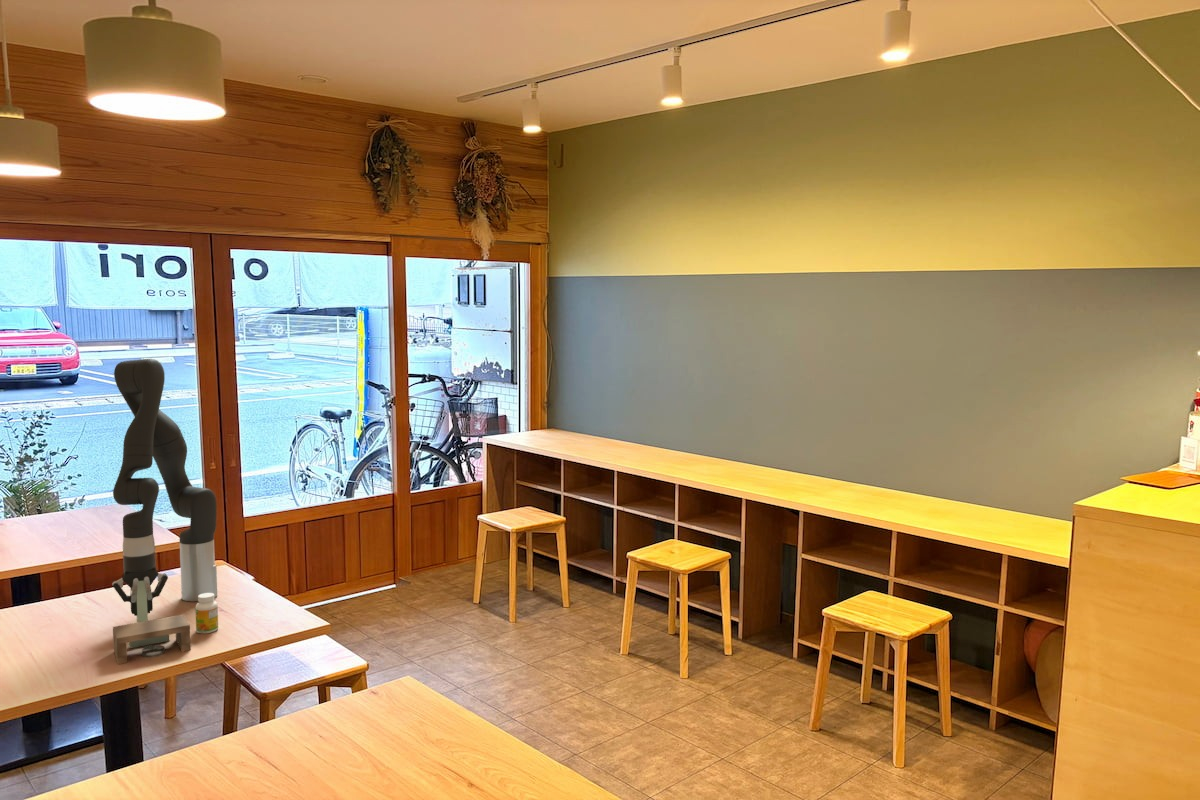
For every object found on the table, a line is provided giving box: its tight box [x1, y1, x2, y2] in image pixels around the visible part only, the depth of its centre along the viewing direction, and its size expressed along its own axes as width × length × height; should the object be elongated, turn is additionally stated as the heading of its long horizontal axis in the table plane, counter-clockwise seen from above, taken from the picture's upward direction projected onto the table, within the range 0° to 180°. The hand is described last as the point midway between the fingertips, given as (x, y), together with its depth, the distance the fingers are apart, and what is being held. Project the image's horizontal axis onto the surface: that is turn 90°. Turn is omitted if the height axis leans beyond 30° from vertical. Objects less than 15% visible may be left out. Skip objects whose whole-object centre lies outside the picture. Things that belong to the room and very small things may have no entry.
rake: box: [128, 580, 170, 649], centre depth 218 cm, size 9×16×13 cm, turn 35°
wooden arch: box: [112, 614, 192, 665], centre depth 208 cm, size 16×9×6 cm, turn 125°
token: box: [141, 644, 166, 658], centre depth 207 cm, size 5×5×1 cm
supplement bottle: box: [195, 593, 219, 634], centre depth 222 cm, size 5×5×10 cm
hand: (141, 613), depth 224 cm, fingers closed on rake, 2 cm apart
